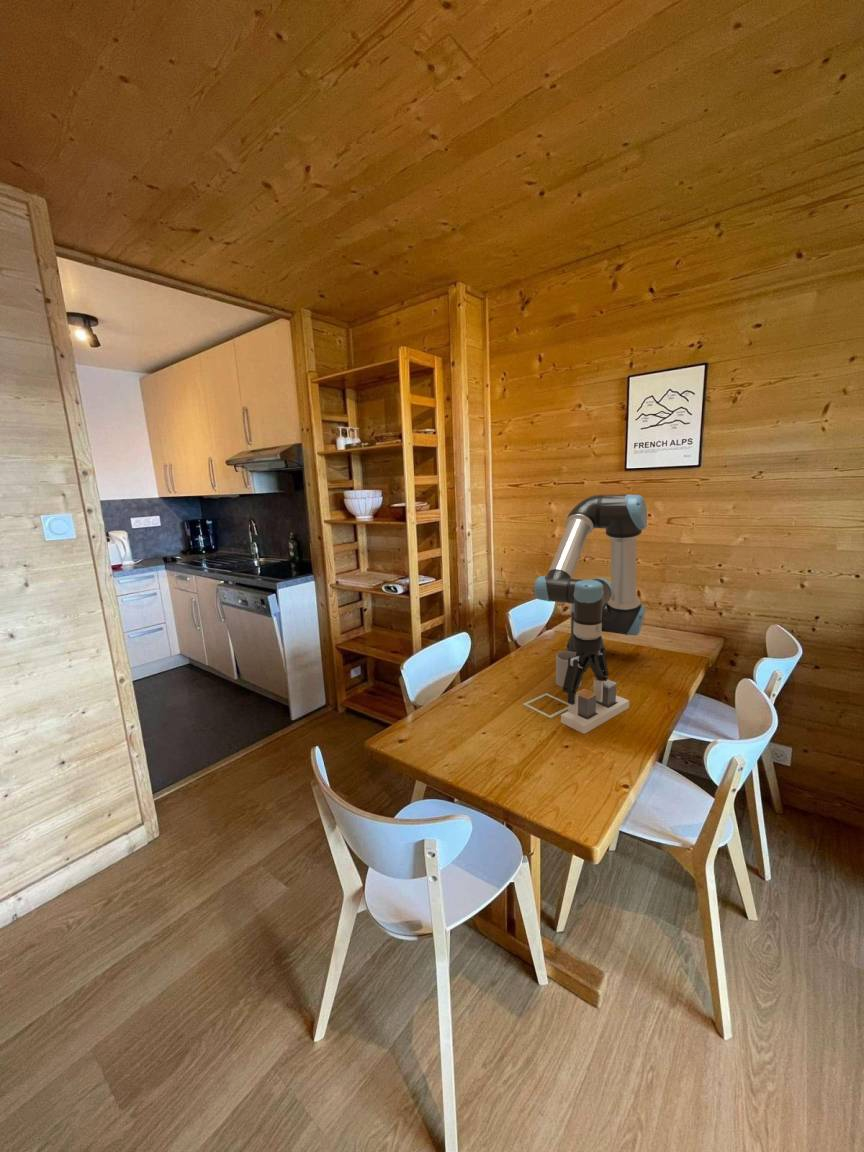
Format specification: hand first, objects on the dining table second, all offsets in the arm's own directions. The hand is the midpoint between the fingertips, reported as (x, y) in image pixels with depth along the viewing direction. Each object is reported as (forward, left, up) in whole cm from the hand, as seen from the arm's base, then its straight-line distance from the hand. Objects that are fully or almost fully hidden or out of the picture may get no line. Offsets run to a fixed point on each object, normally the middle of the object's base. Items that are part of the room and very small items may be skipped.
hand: (585, 706), depth 134 cm
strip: (0, +5, -6) cm, 7 cm away
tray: (-13, -1, -6) cm, 14 cm away
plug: (0, 0, -5) cm, 5 cm away
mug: (-19, +18, -6) cm, 27 cm away
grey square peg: (0, +10, -5) cm, 11 cm away
